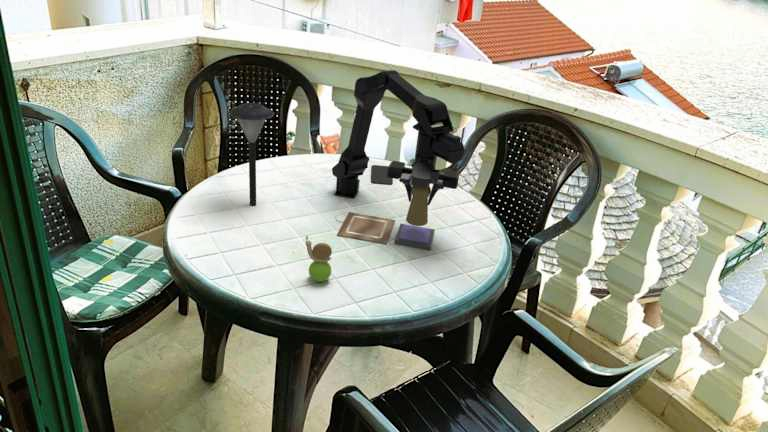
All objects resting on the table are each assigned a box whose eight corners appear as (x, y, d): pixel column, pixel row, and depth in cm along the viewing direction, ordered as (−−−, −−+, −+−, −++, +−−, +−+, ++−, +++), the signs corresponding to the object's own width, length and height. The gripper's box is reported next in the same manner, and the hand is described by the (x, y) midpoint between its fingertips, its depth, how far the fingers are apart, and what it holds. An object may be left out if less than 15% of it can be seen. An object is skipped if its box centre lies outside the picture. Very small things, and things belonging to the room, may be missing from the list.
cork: (428, 216, 162) (433, 181, 156) (427, 227, 156) (432, 191, 151) (406, 214, 162) (411, 178, 157) (405, 224, 157) (409, 188, 151)
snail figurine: (304, 273, 142) (306, 230, 136) (330, 273, 142) (333, 232, 137) (303, 285, 137) (305, 242, 131) (330, 286, 138) (333, 243, 132)
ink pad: (394, 244, 158) (394, 238, 157) (400, 227, 167) (400, 221, 166) (430, 250, 157) (430, 245, 156) (434, 233, 166) (434, 227, 165)
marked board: (336, 235, 159) (336, 234, 159) (348, 213, 171) (349, 211, 171) (386, 244, 157) (386, 242, 157) (395, 221, 170) (395, 219, 169)
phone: (392, 166, 205) (393, 183, 191) (391, 168, 205) (392, 186, 192) (371, 164, 204) (370, 182, 191) (371, 166, 205) (370, 184, 191)
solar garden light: (270, 194, 177) (271, 99, 163) (277, 213, 167) (277, 113, 153) (229, 196, 173) (226, 99, 159) (233, 215, 163) (230, 114, 149)
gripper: (386, 155, 143) (380, 210, 151) (460, 167, 141) (450, 222, 148) (393, 140, 153) (387, 192, 160) (463, 151, 151) (454, 204, 158)
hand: (419, 203), depth 157 cm, fingers closed on cork, 5 cm apart
